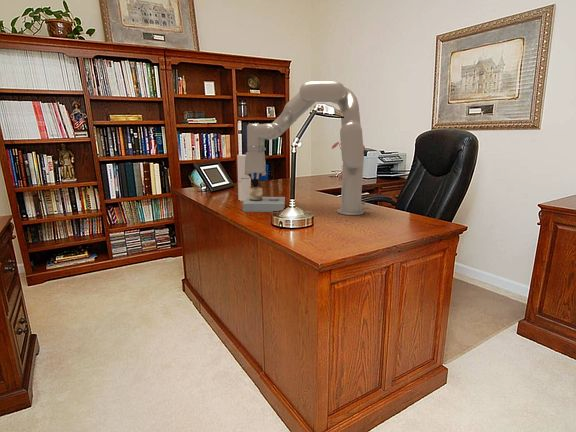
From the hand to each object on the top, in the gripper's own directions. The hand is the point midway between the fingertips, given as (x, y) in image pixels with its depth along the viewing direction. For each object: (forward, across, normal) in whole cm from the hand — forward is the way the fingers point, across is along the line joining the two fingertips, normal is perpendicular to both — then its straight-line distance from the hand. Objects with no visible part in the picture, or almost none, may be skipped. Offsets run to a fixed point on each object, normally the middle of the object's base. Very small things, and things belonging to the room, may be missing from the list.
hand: (255, 186), depth 175 cm
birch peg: (+10, 0, 0) cm, 11 cm away
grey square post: (+11, +8, -21) cm, 25 cm away
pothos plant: (+11, -62, -105) cm, 122 cm away
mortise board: (+11, -5, 0) cm, 12 cm away
